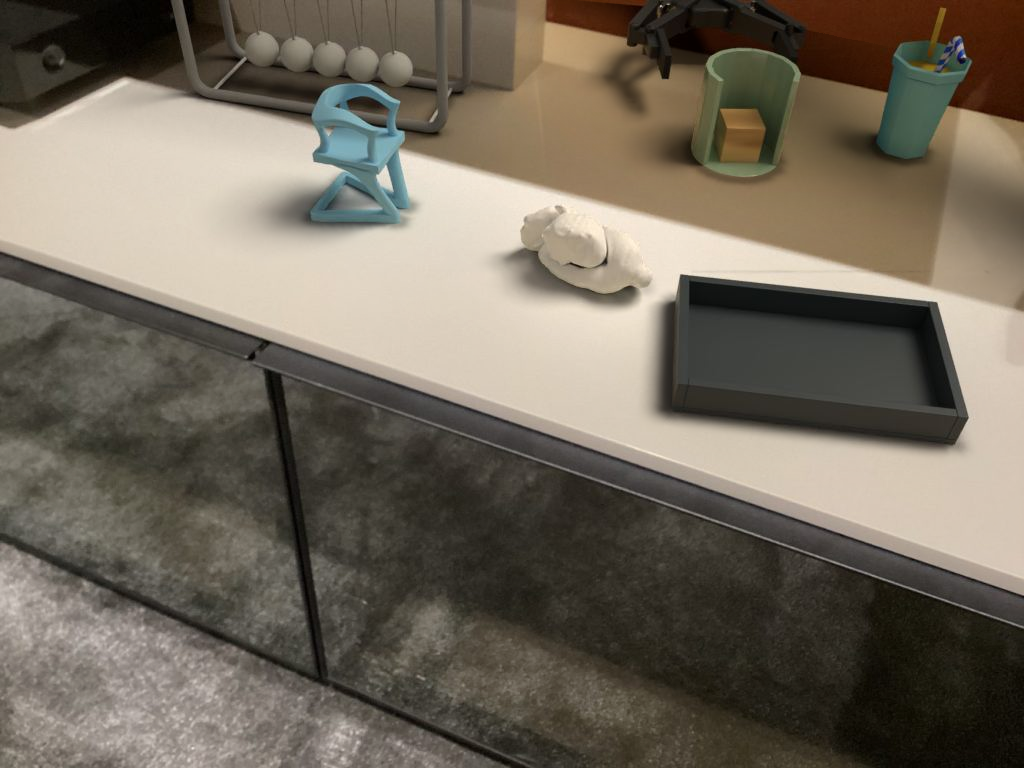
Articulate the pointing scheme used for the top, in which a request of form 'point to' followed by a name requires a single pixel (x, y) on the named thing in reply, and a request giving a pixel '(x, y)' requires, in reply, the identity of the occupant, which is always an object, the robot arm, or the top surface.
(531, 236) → the baby figurine
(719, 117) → the block
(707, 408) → the tray
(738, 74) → the pouring cup
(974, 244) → the top surface
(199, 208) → the top surface
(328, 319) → the top surface
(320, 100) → the chair
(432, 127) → the newton's cradle
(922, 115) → the cup
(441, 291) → the top surface
